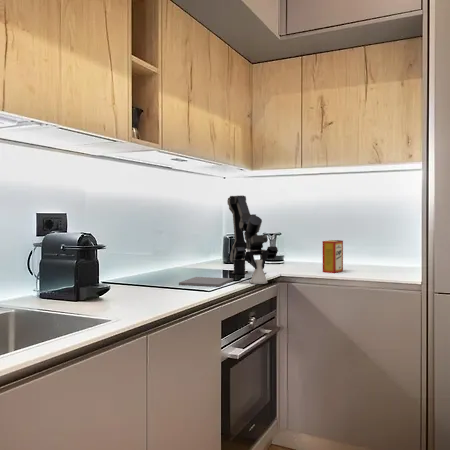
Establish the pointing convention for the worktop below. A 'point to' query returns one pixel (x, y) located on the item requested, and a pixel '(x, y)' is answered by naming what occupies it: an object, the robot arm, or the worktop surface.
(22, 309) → the worktop surface
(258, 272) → the flask
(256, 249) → the robot arm
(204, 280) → the mat
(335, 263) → the baking soda box
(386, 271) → the worktop surface
